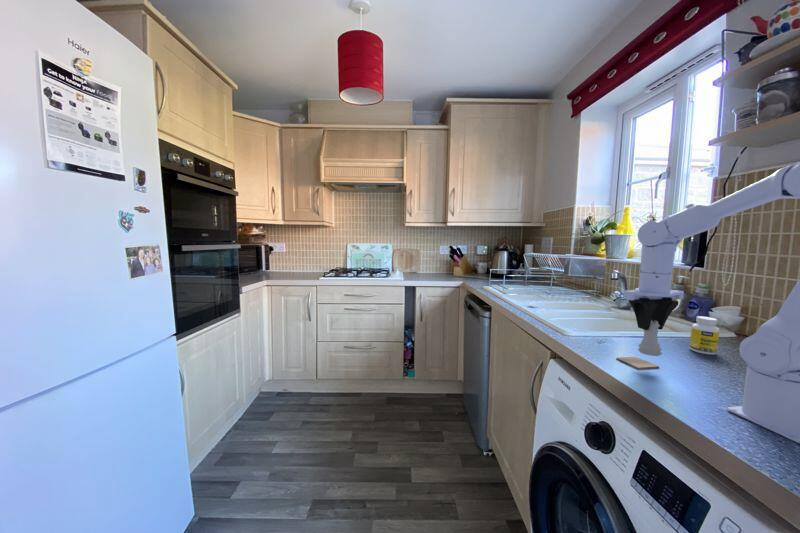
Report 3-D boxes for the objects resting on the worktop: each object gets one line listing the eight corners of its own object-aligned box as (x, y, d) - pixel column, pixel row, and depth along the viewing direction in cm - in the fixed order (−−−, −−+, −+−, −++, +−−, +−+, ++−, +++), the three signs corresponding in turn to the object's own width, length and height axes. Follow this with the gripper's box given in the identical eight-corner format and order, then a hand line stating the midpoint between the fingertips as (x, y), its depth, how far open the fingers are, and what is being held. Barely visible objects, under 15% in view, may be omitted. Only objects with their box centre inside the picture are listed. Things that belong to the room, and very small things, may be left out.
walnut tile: (659, 368, 71) (659, 366, 71) (638, 370, 71) (638, 367, 70) (635, 358, 77) (636, 356, 77) (616, 359, 76) (616, 357, 76)
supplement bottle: (698, 354, 81) (702, 319, 80) (684, 347, 86) (687, 314, 85) (722, 356, 80) (726, 321, 79) (706, 349, 85) (710, 316, 84)
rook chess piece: (667, 356, 68) (669, 323, 68) (647, 356, 68) (649, 322, 68) (651, 350, 72) (653, 318, 72) (633, 349, 73) (634, 318, 72)
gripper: (664, 270, 74) (658, 322, 75) (614, 270, 72) (609, 324, 73) (696, 274, 67) (689, 331, 68) (641, 274, 65) (635, 333, 66)
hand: (649, 328), depth 70 cm, fingers closed on rook chess piece, 3 cm apart
